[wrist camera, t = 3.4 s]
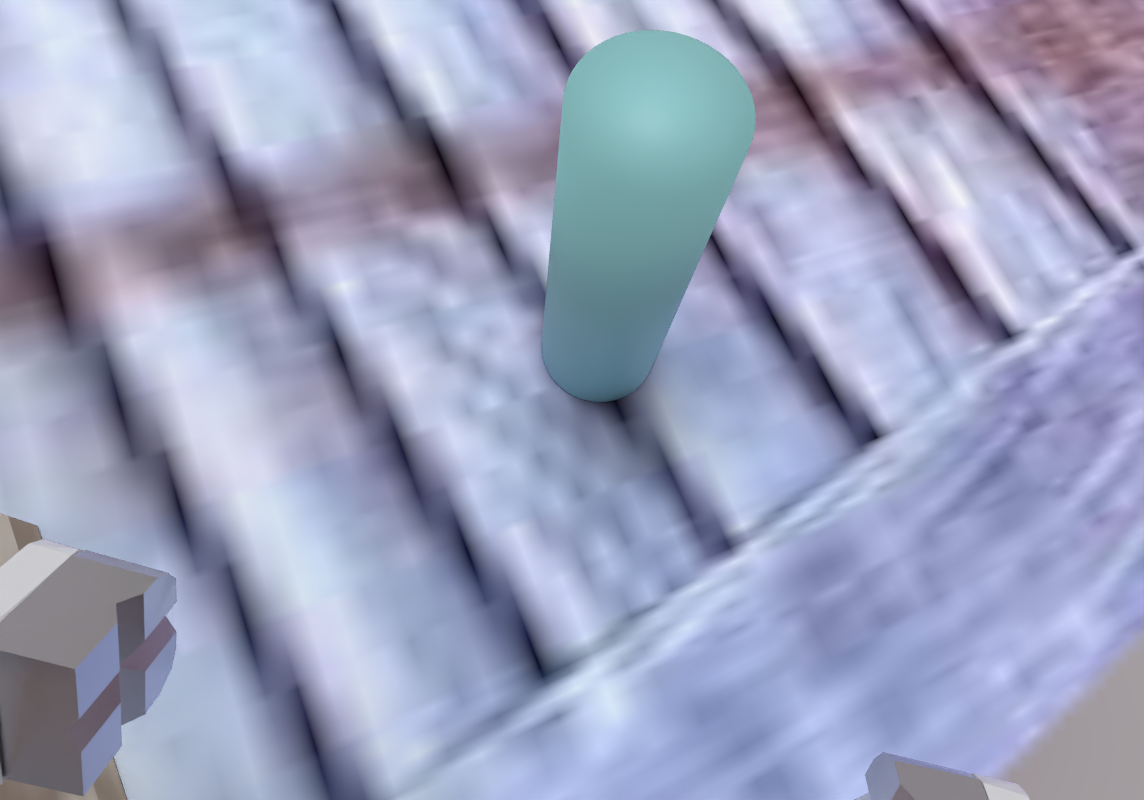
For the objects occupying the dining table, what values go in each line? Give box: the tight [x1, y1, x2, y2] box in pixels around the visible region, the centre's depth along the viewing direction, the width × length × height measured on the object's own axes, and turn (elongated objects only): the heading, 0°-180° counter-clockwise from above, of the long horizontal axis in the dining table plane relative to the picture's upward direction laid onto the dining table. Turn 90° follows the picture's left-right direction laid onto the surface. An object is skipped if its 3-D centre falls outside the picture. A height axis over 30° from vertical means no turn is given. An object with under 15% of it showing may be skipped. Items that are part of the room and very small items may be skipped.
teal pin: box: [542, 30, 756, 402], centre depth 22 cm, size 4×4×12 cm
